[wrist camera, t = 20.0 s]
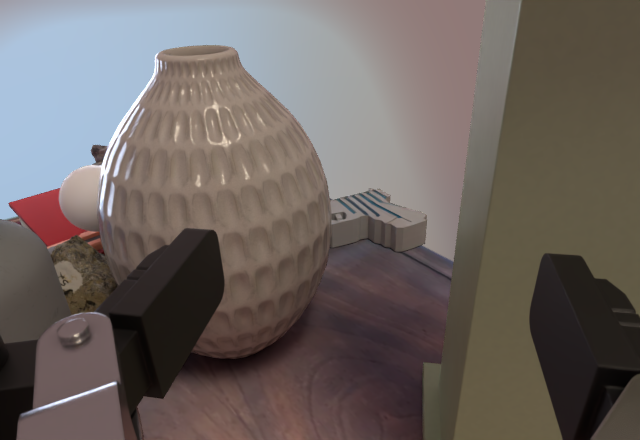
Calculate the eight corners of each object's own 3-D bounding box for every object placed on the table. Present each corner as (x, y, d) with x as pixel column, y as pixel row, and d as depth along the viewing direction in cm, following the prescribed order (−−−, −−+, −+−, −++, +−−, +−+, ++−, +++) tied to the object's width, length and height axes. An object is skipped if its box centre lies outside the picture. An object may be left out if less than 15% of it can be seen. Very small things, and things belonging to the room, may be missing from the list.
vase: (102, 331, 40) (13, 55, 29) (256, 256, 49) (230, 29, 39) (205, 454, 29) (123, 93, 19) (374, 328, 39) (382, 44, 28)
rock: (139, 383, 36) (22, 328, 30) (108, 327, 43) (7, 271, 36) (188, 326, 37) (86, 261, 31) (151, 280, 44) (60, 218, 37)
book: (205, 256, 50) (198, 214, 47) (82, 313, 42) (66, 266, 39) (130, 205, 61) (121, 170, 59) (23, 242, 53) (8, 203, 51)
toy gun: (433, 218, 50) (382, 184, 57) (308, 254, 44) (271, 211, 52) (430, 243, 51) (381, 206, 59) (310, 280, 46) (273, 234, 54)
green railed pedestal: (743, 629, 21) (1868, -718, 5) (423, 569, 23) (567, -473, 8) (624, 386, 33) (866, -244, 18) (422, 363, 35) (477, -206, 20)
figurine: (98, 178, 34) (161, 127, 45) (31, 184, 35) (109, 133, 46) (134, 269, 38) (184, 202, 49) (73, 273, 39) (135, 207, 49)
